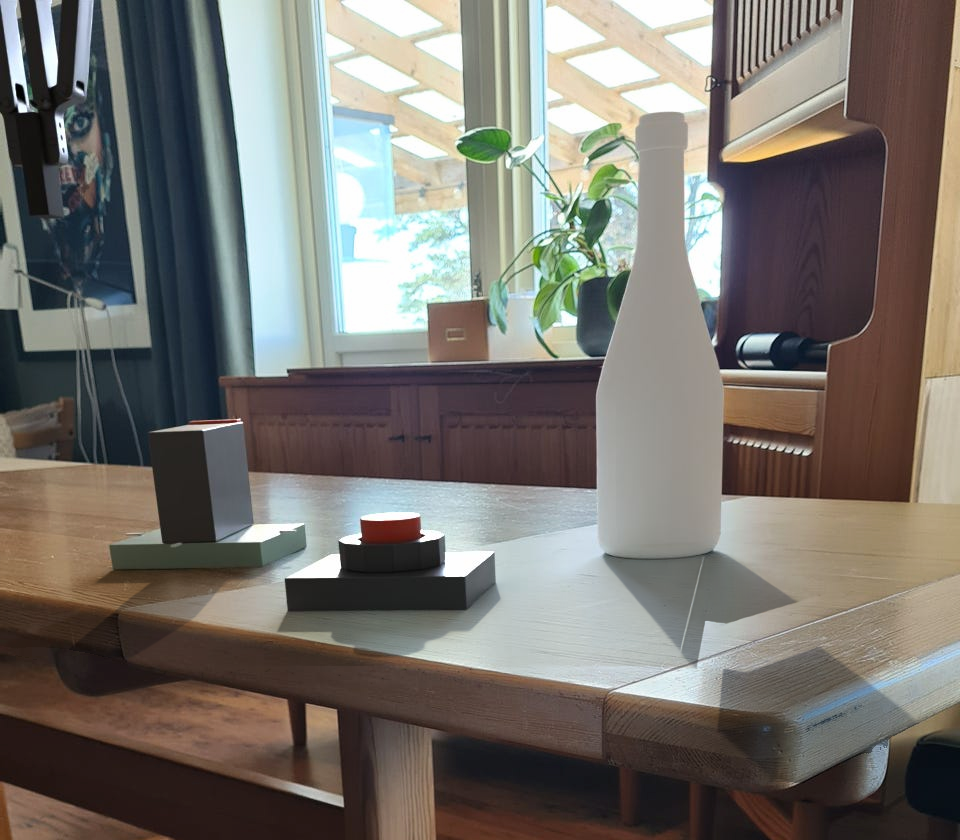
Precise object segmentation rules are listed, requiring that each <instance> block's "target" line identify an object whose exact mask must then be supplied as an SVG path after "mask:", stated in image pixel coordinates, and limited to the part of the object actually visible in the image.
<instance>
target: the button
mask: <svg viewBox="0 0 960 840" xmlns="http://www.w3.org/2000/svg"><path fill="white" fill-rule="evenodd" d="M421 521H422V520H421V514H419V513H415V512H384V513H375V514H374V513H373V514H368V515H364V516H361V517H359V523H360V534H361V538H362V542H398V541H409V540H414V539H419V538H422V536H421V530H422V522H421Z"/></svg>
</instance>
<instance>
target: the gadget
mask: <svg viewBox="0 0 960 840" xmlns="http://www.w3.org/2000/svg"><path fill="white" fill-rule="evenodd" d="M244 428H245V427H244V422H243V421H242V420H241V418H235V419H231V418H230V419H211V420H192V421H191V420H190V421H189V422H188V424H185V425H181V426H175V427H170V428H164V429H159V430H153V431H148V432H147V440H148V447H149V454H150V461H151V462H150V463H151V469H152V470H151V471H152V477H153V485H154V491H155V499H156V500H155V501H156V507H157V515H158V522H159V529H160V530H161V537H162V543H189V542H216V541H218V540H220V539H222V538H224V537H226V536H228V535H231V534H233V533H235V532H237V531H239V530H241V529H243V528H245V527H247V526H250V525H255V524H254V523H255V520H254V512H253V502H252V492H251V484H250V474H249V466H248V464H249V463H248V457H247V446H246V439H245V438H246V436H245V429H244Z"/></svg>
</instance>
